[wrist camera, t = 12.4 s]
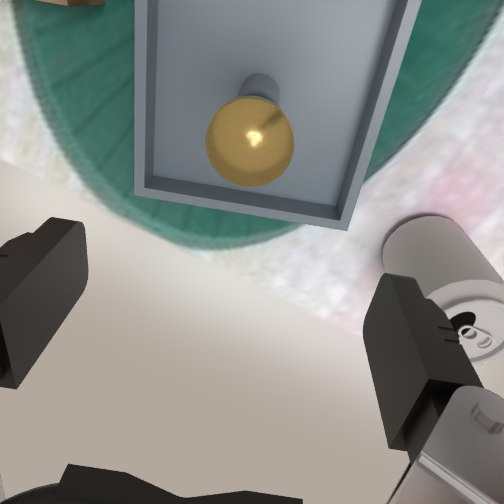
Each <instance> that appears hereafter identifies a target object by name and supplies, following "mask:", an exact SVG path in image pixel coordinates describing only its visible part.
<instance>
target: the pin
mask: <svg viewBox="0 0 504 504" xmlns="http://www.w3.org/2000/svg"><path fill="white" fill-rule="evenodd" d="M205 144H206V151H207V155H208V158H209V161H210V163H211V164H212V166H213V168H214V169H215V170H216V171H217V173H218V174H219V175H221V176H222V177H223V178H224V179H226V180H227V181H229V182H231V183H233V184H236V185H239V186H243V187H258V186H262V185H266V184H268V183H270V182H272V181H274V180H275V179H277V178H278V177H279V176H280V175H281V174H282V173H283V172H284V171H285V170H286V169H287V167H288V165H289V164H290V161H291V159H292V156H293V151H294V136H293V130H292V126H291V123H290V121H289V119H288V117H287V116H286V114H285V113H284V112H283V110H282V109H281V108H280V92H279V88H278V85H277V83H276V82H275V80H274V79H273V78H271V77H270V76H268V75H265V74H254V75H252V76H250V77H248V78H247V79H246V80H245V81H244V83H243V85H242V87H241V89H240V91H239V94H238V96H237V98H235V99H233V100H231V101H229V102H227V103H226V104H224V105H223V106H222V107H221V108H220V109H219V110H218V111H217V112H216V114H215V115H214V117H213V118H212V120H211V122H210V124H209V126H208V129H207V133H206V143H205Z"/></svg>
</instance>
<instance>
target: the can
mask: <svg viewBox="0 0 504 504" xmlns="http://www.w3.org/2000/svg"><path fill="white" fill-rule="evenodd" d="M382 260H383V265H384V269H385V271H386V273H390V274H396V275H402V276H408V277H413V278H415V279H416V281H417V283H418V285H419V287H420V289H421V291H422V293H423V296H424V298H427V299H432V300H433V301H434V302H435V303H436V304H437V305H438V306H439V307H440V308H441V309H442V310H443V311H444V312H445V313H446V315H447V317H448V319H449V321H450V323H451V325H452V327H453V331H455V332H456V334H457V336H458V338H459V340H460V344H462V346H463V348H464V350H465V352H466V354H467V356H468V358H469V360H470V362H471V364H472V366H477V365H482V364H484V363H487V362H490V361H492V360H495V359H496V358H498V357H499V356H501V355H502V354H504V281H503V279H502V278H501V277H500V276H499V274H498V273H497V272H496V271H495V269H494V268H493V267H492V265H491V264H490V263H489V262H488V260H487V259H486V258H485V257H484V255H483V254H482V253H481V252H480V250H479V249H478V248H477V247H476V245H475V244H474V243H473V242H472V240H471V239H470V238H469V237H468V235H467V234H466V233H465V232H464V230H463V229H462V228H461V227H460V226H459V225H458V224H456V223H455V222H454V221H452V220H450V219H447V218H444V217H441V216H424V217H420V218H417V219H413V220H411V221H409V222H407V223H405V224H403V225H401V226H400V227H398V228H397V229H396V230H395V231H394V232H393V233H392V234H391V235H390V236H389V238H388V240H387V242H386V243H385V245H384V248H383V253H382Z"/></svg>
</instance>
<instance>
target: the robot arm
mask: <svg viewBox="0 0 504 504" xmlns="http://www.w3.org/2000/svg"><path fill="white" fill-rule="evenodd" d="M87 280H88V259H87V246H86V234H85V227H84V224H83V223H82V222H78V221H73V220H67V219H60V218H54V217H51V218H49V219H48V220H47V221H46V222H45V223H43V224H42V225H41V226H40V227H39V228H38V229H37V230H36V231H35V232H34V233H29V232H27V233H25V234H22V235H20V236H18V237H16V238H13V239H11V240H9V241H7V242H6V243H5V244H4V245H3V246H2V247H0V387H4V388H11V389H17V388H18V387H19V385H20V384H21V383H22V381H23V380H24V378H25V377H26V375H27V374H28V372H29V370H30V369H31V368H32V366H33V365H34V363H35V362H36V361H37V359H38V358H39V356H40V355H41V353H42V352H43V350H44V349H45V347H46V346H47V344H48V343H49V342H50V340H51V339H52V337H53V336H54V334H55V333H56V331H57V330H58V328H59V327H60V326H61V324H62V323H63V321H64V320H65V318H66V317H67V315H68V314H69V312H70V311H71V309H72V308H73V307H74V305H75V304H76V302H77V301H78V299H79V298H80V296H81V295H82V293H83V291H84V290H85V287H86V284H87ZM363 339H364V344H365V348H366V352H367V356H368V361H369V365H370V369H371V374H372V378H373V382H374V386H375V391H376V395H377V399H378V404H379V408H380V413H381V417H382V421H383V425H384V430H385V434H386V438H387V443H388V447H389V449H396V450H402V451H407V452H408V455H409V459H410V462H409V464H408V466H407V467H406V469H405V470H404V472H403V474H402V476H401V477H400V479H399V481H398V483H397V484H396V486H395V488H394V490H393V492H392V493H391V495H390V497H389V499H388V501H387V502H386V504H504V399H503V398H502V397H500V396H499V395H497V394H495V393H493V392H491V391H489V390H487V389H484V387H483V385H482V383H481V381H480V379H479V377H478V375H477V373H476V372H475V370H474V367H473V366H472V364H471V362H470V360H469V358H468V356H467V354H466V352H465V350H464V348H463V346H462V344H460V340H459V338H458V336H457V334H456V332H455V331H453V327H452V325H451V323H450V321H449V319H448V317H447V315H446V313H445V312H444V311H443V310H442V309H441V308H440V307H439V306H438V305H437V304H436V303H435V302H434V301H433V300H432V299H427V298H424V296H423V293H422V291H421V289H420V287H419V285H418V283H417V281H416V279H415V278H413V277H408V276H402V275H396V274H390V273H384V274H383V275H382V277H381V279H380V281H379V283H378V286H377V288H376V291H375V293H374V296H373V298H372V301H371V303H370V306H369V309H368V311H367V314H366V316H365V320H364V325H363ZM0 504H303V499H298V498H291V497H285V496H278V495H271V494H265V493H258V492H252V491H239V492H231V493H222V494H214V495H206V496H199V497H190V498H183V497H179V496H176V495H174V494H172V493H170V492H167V491H165V490H163V489H161V488H159V487H157V486H154V485H152V484H150V483H148V482H146V481H144V480H141V479H139V478H137V477H135V476H133V475H130V474H128V473H125V472H119V471H112V470H106V469H99V468H93V467H85V466H79V465H72V464H68V465H67V467H66V469H65V471H64V473H63V476H62V478H61V480H60V482H59V483H55V484H49V485H46V486H41V487H37V488H34V489H31V490H28V491H25V492H22V493H20V494H17V495H15V496H13V497H11V498H8V499H6V498H5V494H4V489H3V485H2V481H1V475H0Z"/></svg>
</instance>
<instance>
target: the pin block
mask: <svg viewBox="0 0 504 504" xmlns="http://www.w3.org/2000/svg"><path fill="white" fill-rule="evenodd" d="M38 1H44V2H49V3H54V4H60V5H65V6H81V5H105V0H38Z"/></svg>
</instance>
